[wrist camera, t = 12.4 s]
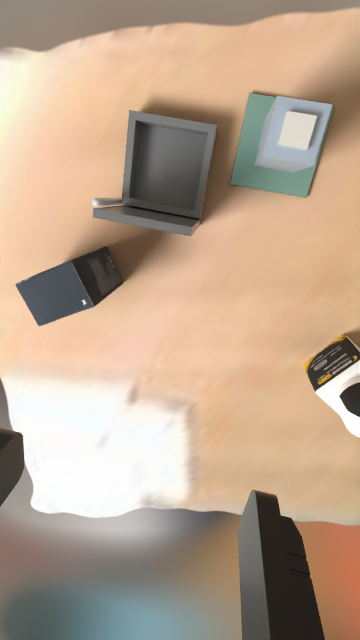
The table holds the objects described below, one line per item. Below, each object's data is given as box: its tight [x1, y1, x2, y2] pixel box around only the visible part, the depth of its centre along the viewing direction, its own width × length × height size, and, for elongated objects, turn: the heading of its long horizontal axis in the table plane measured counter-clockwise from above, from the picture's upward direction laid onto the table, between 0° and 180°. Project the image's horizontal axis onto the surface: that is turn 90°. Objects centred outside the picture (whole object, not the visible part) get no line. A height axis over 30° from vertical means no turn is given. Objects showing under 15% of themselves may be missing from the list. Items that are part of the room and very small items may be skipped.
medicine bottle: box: [303, 335, 360, 437], centre depth 38 cm, size 7×7×12 cm
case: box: [92, 110, 217, 236], centre depth 32 cm, size 11×11×11 cm
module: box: [254, 96, 332, 173], centre depth 30 cm, size 4×4×10 cm
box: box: [15, 247, 123, 327], centre depth 38 cm, size 8×6×11 cm
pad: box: [230, 93, 334, 198], centre depth 34 cm, size 9×9×1 cm
